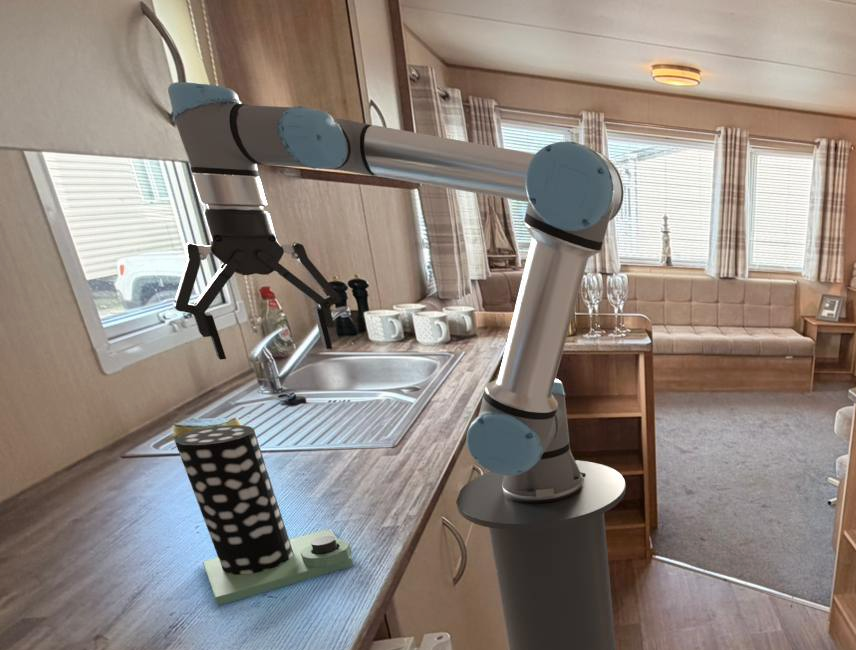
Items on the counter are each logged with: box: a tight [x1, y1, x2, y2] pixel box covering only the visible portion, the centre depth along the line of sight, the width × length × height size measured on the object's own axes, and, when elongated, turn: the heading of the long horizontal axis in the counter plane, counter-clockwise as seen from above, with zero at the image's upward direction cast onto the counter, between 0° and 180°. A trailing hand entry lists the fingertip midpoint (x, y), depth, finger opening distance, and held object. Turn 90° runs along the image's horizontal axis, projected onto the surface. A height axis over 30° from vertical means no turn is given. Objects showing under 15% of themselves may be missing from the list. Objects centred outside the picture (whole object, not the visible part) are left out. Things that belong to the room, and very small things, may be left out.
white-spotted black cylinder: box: [174, 424, 293, 575], centre depth 92 cm, size 8×8×20 cm
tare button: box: [311, 536, 338, 555], centre depth 96 cm, size 3×3×2 cm
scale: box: [202, 528, 354, 607], centre depth 96 cm, size 16×13×3 cm
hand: (277, 352), depth 102 cm, fingers open, 13 cm apart
